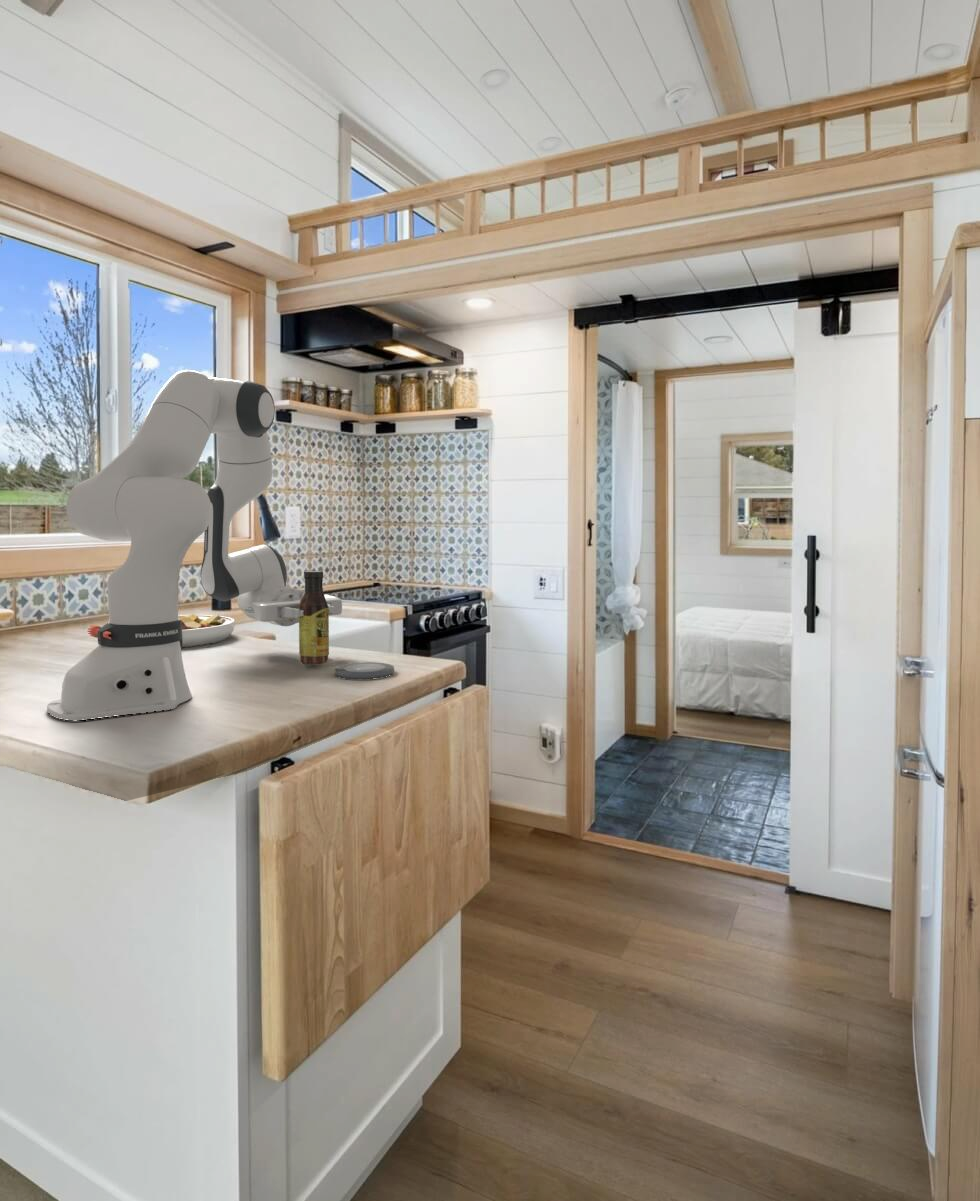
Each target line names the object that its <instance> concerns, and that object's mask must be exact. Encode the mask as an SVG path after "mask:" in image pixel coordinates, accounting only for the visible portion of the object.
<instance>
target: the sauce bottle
mask: <svg viewBox="0 0 980 1201" xmlns="http://www.w3.org/2000/svg"><path fill="white" fill-rule="evenodd" d="M303 578H304V590H305V594H304V595H303V597H302V599H301V601H300V605H299V606H300V609H303V611H304V612H303V614H304V616H303V617H300V618H299V623H298V628H299V629H298V644H299V646H298V647H299V648H298V651H299V652H298V654H299V655H298V656H300V658H299V661H300V663H301V664H303V665H312V666H313V665H321V664H326V663H327V662H328V661H329V654H330V638H329V637H330V630H329V629H330V626H329V624H330V622H329V621H330V620H329V618H330V616H329V608H328V605H327V602H326V599H325V596H324V588H323V587H324V586H323V580H324V572H323V571H322V570H305V571H304V572H303Z"/></svg>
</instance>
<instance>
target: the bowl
mask: <svg viewBox="0 0 980 1201" xmlns="http://www.w3.org/2000/svg"><path fill="white" fill-rule="evenodd" d="M178 616H179V619H180V620H181V624H182V632H183V643H182V648H190V647H189V646H192V647H197V646H198V645H200V646H204V644H206V645H210V643H212V644H214V643H215V642H216V643H219V642H222V641H224V640H226V639H227V638H228V637H230V636H231V635H232V634H233V632H234V630H235V625H236V624H235V619H234V618H232V617H229V616H222V615H220V614H212V615H210V614H208V615H207V614H194V613H190V614H178ZM216 643H215V644H216ZM198 647H199V646H198Z"/></svg>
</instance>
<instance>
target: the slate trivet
mask: <svg viewBox="0 0 980 1201" xmlns="http://www.w3.org/2000/svg"><path fill="white" fill-rule="evenodd" d="M393 673H394V674H395V667H394V665H392V664H388V663H384V662H369V661H368V662H366V661H365V662H353V663H346V664H342V665H339V666H336V667H335V669H334V674H335V677H337V678H339V677H340V678H339V679H342V678H345V679H344V680H349V679H372V680H374V679H373V678H381V677H386V676H389V675H392V674H393ZM394 674H393V675H394ZM393 675H392V676H393ZM389 677H390V676H389ZM386 678H387V677H386ZM381 679H382V678H381Z"/></svg>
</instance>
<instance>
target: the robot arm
mask: <svg viewBox="0 0 980 1201" xmlns="http://www.w3.org/2000/svg"><path fill="white" fill-rule="evenodd" d="M275 408H276V407H275V402H274V397H273V395H272V393H270V391H269V390H268V388H267V387H266V386H265V385H263V384H261V383H257V382H253V381H249V380H247V381H241V380H236V379H230V378H221V377H216V376H215V377H213V376H209V377H208V376H207V375H205V374H203V373H202V372H199V371H196V370H190V369H189V370H188V369H185V370H181V371H178V372H176V373H175V374H173V375H172V376H171V377H170V378H169V379H168V381H166V383H165V384H164V385H163V387H162V388H161V389H160V390H159V391H158V394H156V397H155V398H154V400H153V402H152V403H151V405H150V407H149V409H148V411H147V413H146V415H145V417H144V419H143V420H142V422H141V424H140V425H139V427H138V429H137V431H136V433H135V435H134V437H133V438H132V440H130V443H128V445H127V446H126V447H125V448H124V449H123V450H122V451H121V452H120V453H119V454H118V455H117V456H116V457H115V458H113V459H112V460H111V461H110V462H109V463H108V464H107V465H106V466H104V468H102V469H101V470H100V471H98V472H97V473H96V474H95V475H93V476H91V477H89V478H87V479H85V480H83V481H81V482H78V483H77V484H75V485H74V486H73V487H72V488H71V490H70V491H69V493H68V496H67V500H66V503H65V504H66V505H65V507H66V508H65V509H66V515H67V518H68V520H69V523H70V524H71V526H72V527H73V529H74V530H75V531H77V532H78V533H79V534H81V535H84V536H88V537H91V538H95V539H99V540H102V541H109V542H110V541H112V542H113V541H115V542H117V541H118V542H123V541H124V542H130V549H129V552H128V556H127V558H126V559H125V561H124V563H123V564H122V565H120V566H118V567H116V568H115V569H114V570H112V572H111V573H110V574H109V576H108V578H107V582H106V585H107V602H108V604H107V605H108V622H107V623H106V624H104V625H103V626H99V625H97V624H92V625H90V626H89V628H87V633H88V635H89V636H90V637H94V638H97V644H98V646H96V647H95V648H94V649H93V650H92V651H90V653H88V654H87V655H86V656H84V657H82V659H81V660H80V661H78V662H77V663H76V664H75V665H73V666H72V667H71V668H69V669H68V670H67V671H66V673H65V675H64V678H63V681H62V686H61V696H60V697H61V698H60V699H57V700H52V701H50V702H48V703H47V705H46V708H47V709H46V712H47V711H48V712H47V714H48V713H50V714H51V715H53V716H55V717H58V718H62V719H68V720H82V719H91V718H98V717H105V716H114V715H125V714H133V715H137V714H136V713H141V714H147V713H146V712H148V713H154V711H156V712H162V710H164V711H168V710H169V711H170V709H171V710H175V709H176V708H177V707H178V705H180V704H182V703H185V702H186V701H189V700H190V699H192V696H193V694H192V693H191V692H192V691H191V689H190V686H189V683H188V679H187V677H186V672H185V668H184V661H183V655H182V653H183V652H182V650H183V647H182V643H183V632H182V624H181V620H180V619H179V616H178V615H179V577H180V571H181V568H182V563H183V561H184V558H185V556H186V554H187V552H188V550H189V548H190V547H191V546H192V544H193V543H194V542H195V540H197V539H198V538H199V537H200V536H201V535H203V534H204V539H203V542H204V543H203V556H202V558H203V559H202V564H201V567H200V582H201V586H202V588H203V590H204V592H205V593H206V595H208V596H209V597H211V598H213V599H215V600H217V601H221V602H225V603H226V602H229V601H231V600H233V599H235V598H236V599H237V606H238V609H239V610H240V611H241V612H242V614H244V615H245V616H247V617H248V618H249V619H252V620H255V621H257V622H262V623H269V624H271V625H275V626H280V627H291V626H293V625H295V624H299V618H300V617H303V616H304V614H303V612H304V611H303V609H300V606H299V605H300V601H301V599H302V597H303V595H304V594H305V589H298V588H295V587H294V588H293V587H287V580H288V576H287V575H288V574H287V572H288V571H287V566H286V563H285V560H284V558H283V556H282V555H281V554H280V553H279V552H278V550H276V549H274V547H272V546H271V545H268V544H266V543H264V544H263V543H262V544H259V545H254V546H252V547H247V548H245V549H241V550H239V551H234V552H231V553H229V548H230V546H229V544H230V526H231V522H232V520H233V518H234V517H235V515H237V513H238V512H239V511H240V510H241V509H243V508H244V507H245V506H247V505H248V504H249V503H251V502H252V501H254V500H256V499H258V498H259V497H260V496H262V494H263V493H264V492H266V490H267V489H268V488H269V486H270V484H271V482H272V478H273V462H272V452H271V444H270V438H269V434H268V431H269V429H271V427H272V426H273V423H274V419H275V413H276V411H275V410H276V409H275ZM211 434H216V449H217V458H218V459H217V460H218V469H217V474H216V478H215V481H214V483H213V485H212V486H211V487H210V488H208V490H207V491H206V490H205V488H204V487H203V486H202V485H201V484H200V483H198V482H197V481H193V480H189V479H186V478H187V477H188V476H190V475H191V474H192V473H193V472H194V471H195V469H196V468H197V466H198V463H199V462H200V459H201V457H202V454H203V452H204V450H205V447H206V446H207V444H208V442H209V439H210V436H211ZM324 596H325V599H326V602H327V605H328V608H329V617H330V616H339V615H341V614H342V613H343V601H342V599H341V598H340V597H337V596H334V595H331V594H324ZM51 715H50V716H51ZM125 716H126V715H125Z"/></svg>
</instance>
